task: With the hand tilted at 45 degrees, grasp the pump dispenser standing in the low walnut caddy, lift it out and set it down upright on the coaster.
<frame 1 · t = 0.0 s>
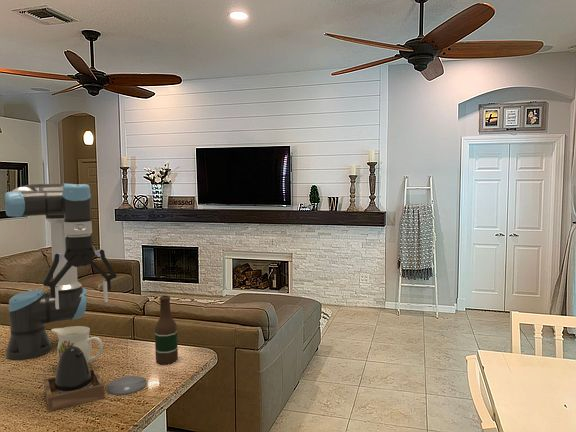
hand: (82, 304, 139), 28 cm above the countertop, tool pointing down, fingers open, 13 cm apart
pitcher: (78, 367, 161), on the countertop
beer bottle: (167, 361, 166), on the countertop
caddy: (74, 394, 140), on the countertop
coaster: (126, 386, 146), on the countertop
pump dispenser: (74, 395, 140), resting in caddy
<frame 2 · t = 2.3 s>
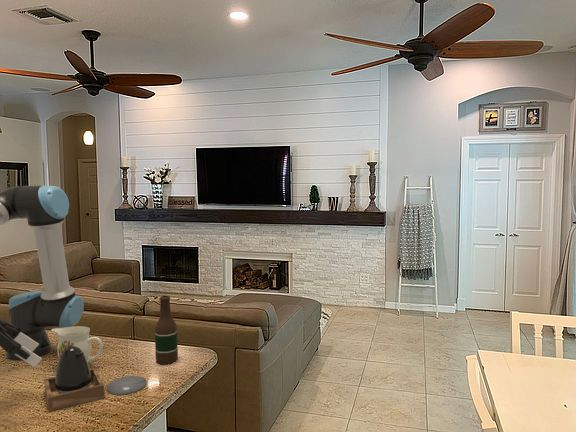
hand: (36, 355, 134), 15 cm above the countertop, tool tilted 45°, fingers open, 13 cm apart
nothing on the countertop moved.
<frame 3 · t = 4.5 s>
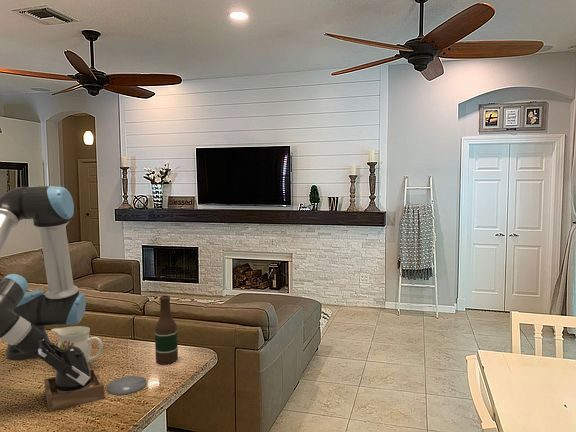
hand: (84, 375, 142), 5 cm above the countertop, tool tilted 45°, fingers closed on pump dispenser, 10 cm apart
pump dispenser: (74, 395, 140), resting in caddy, touching gripper
everything else where it was.
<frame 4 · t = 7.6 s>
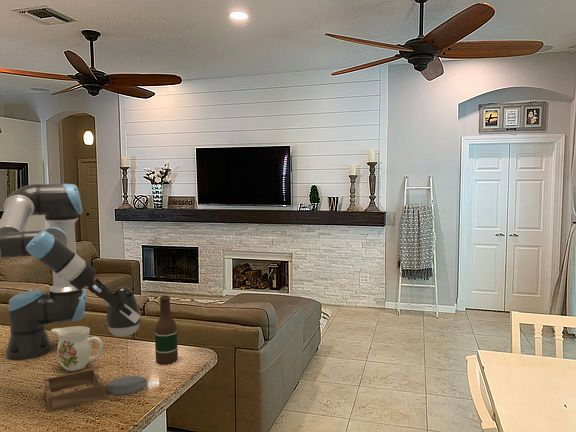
hand: (133, 315, 145), 23 cm above the countertop, tool tilted 45°, fingers closed on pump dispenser, 10 cm apart
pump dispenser: (124, 334, 144), point 17 cm above the countertop, touching gripper
everything else where it was.
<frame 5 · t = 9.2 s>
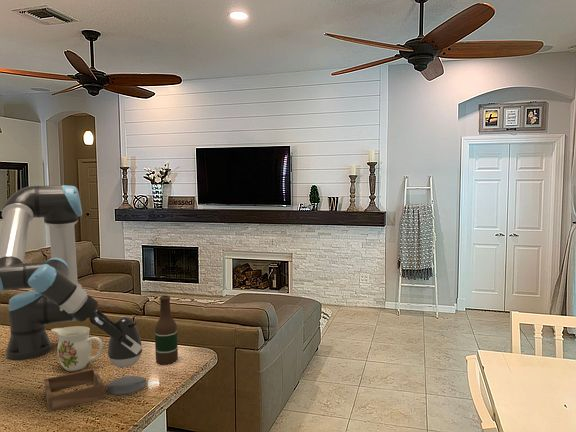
hand: (135, 345, 146), 13 cm above the countertop, tool tilted 45°, fingers closed on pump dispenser, 10 cm apart
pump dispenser: (126, 365, 144), point 7 cm above the countertop, touching gripper
everything else where it was.
when the fingers open (8 cm above the countertop, at t = 10.8 s): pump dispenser drops 1 cm, resting on coaster.
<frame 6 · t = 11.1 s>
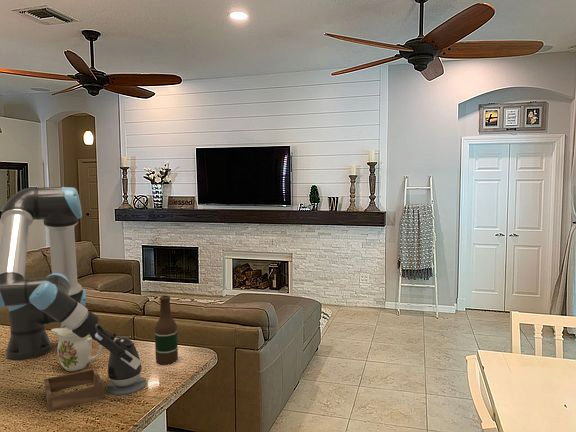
hand: (133, 358, 146), 9 cm above the countertop, tool tilted 45°, fingers open, 13 cm apart
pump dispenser: (126, 383, 146), point 1 cm above the countertop, touching coaster
everything else where it was.
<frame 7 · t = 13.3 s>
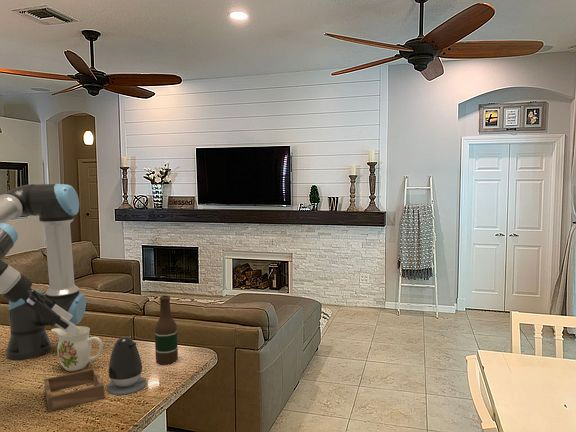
hand: (72, 325, 138), 22 cm above the countertop, tool tilted 45°, fingers open, 13 cm apart
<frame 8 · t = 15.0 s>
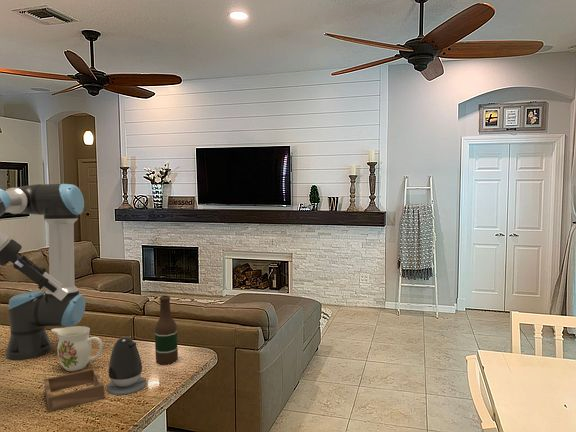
hand: (61, 292, 139), 32 cm above the countertop, tool tilted 45°, fingers open, 13 cm apart
nothing on the countertop moved.
at the end: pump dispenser 0.3 cm from the coaster (horizontally); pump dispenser tilted 0°; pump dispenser point 0.6 cm above the countertop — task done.
